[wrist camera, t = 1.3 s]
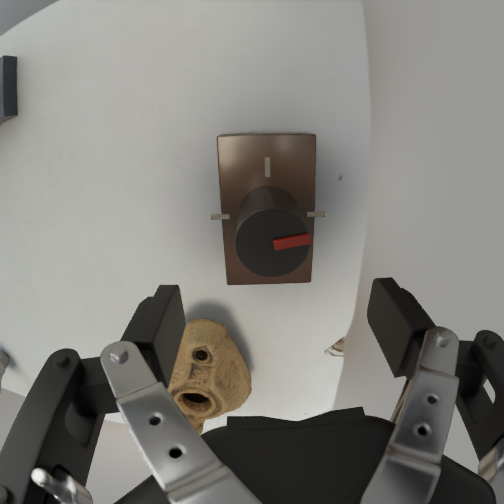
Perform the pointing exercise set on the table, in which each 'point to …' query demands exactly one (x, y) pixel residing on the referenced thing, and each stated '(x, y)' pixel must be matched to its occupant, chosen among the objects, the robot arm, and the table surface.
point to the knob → (271, 233)
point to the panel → (261, 175)
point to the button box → (7, 88)
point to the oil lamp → (208, 373)
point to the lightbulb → (3, 365)
